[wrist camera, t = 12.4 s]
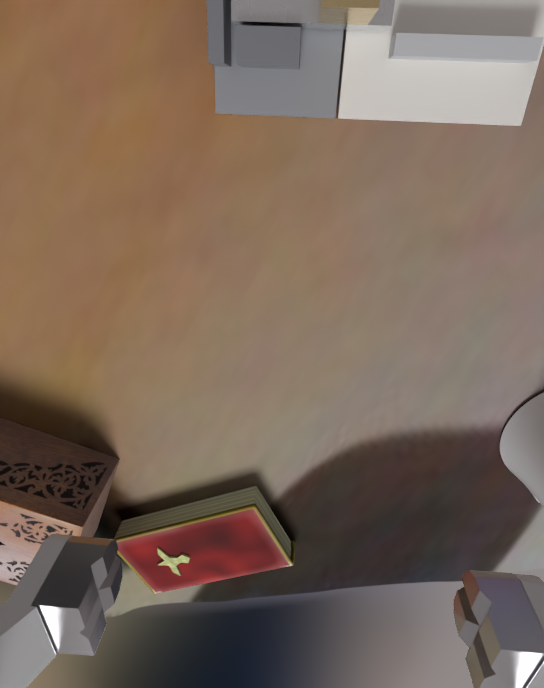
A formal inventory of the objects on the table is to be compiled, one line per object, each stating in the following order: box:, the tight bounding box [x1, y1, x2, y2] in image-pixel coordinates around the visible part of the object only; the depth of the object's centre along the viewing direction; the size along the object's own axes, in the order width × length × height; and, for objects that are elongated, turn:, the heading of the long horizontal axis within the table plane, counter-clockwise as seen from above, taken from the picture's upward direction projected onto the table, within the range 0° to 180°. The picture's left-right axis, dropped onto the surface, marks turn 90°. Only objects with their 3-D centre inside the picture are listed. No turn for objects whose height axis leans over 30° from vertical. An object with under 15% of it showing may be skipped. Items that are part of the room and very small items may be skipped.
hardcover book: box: [112, 486, 295, 594], centre depth 56 cm, size 12×21×4 cm, turn 114°
